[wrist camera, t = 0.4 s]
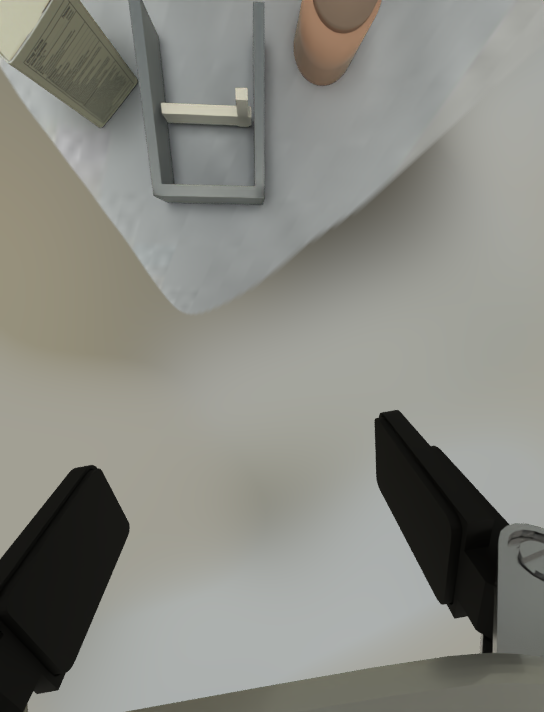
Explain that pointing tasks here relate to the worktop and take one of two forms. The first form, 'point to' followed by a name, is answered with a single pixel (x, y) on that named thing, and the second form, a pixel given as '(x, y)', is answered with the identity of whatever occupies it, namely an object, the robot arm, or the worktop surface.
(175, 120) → the bar
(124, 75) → the skincare box
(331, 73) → the jar
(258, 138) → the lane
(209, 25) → the worktop surface
